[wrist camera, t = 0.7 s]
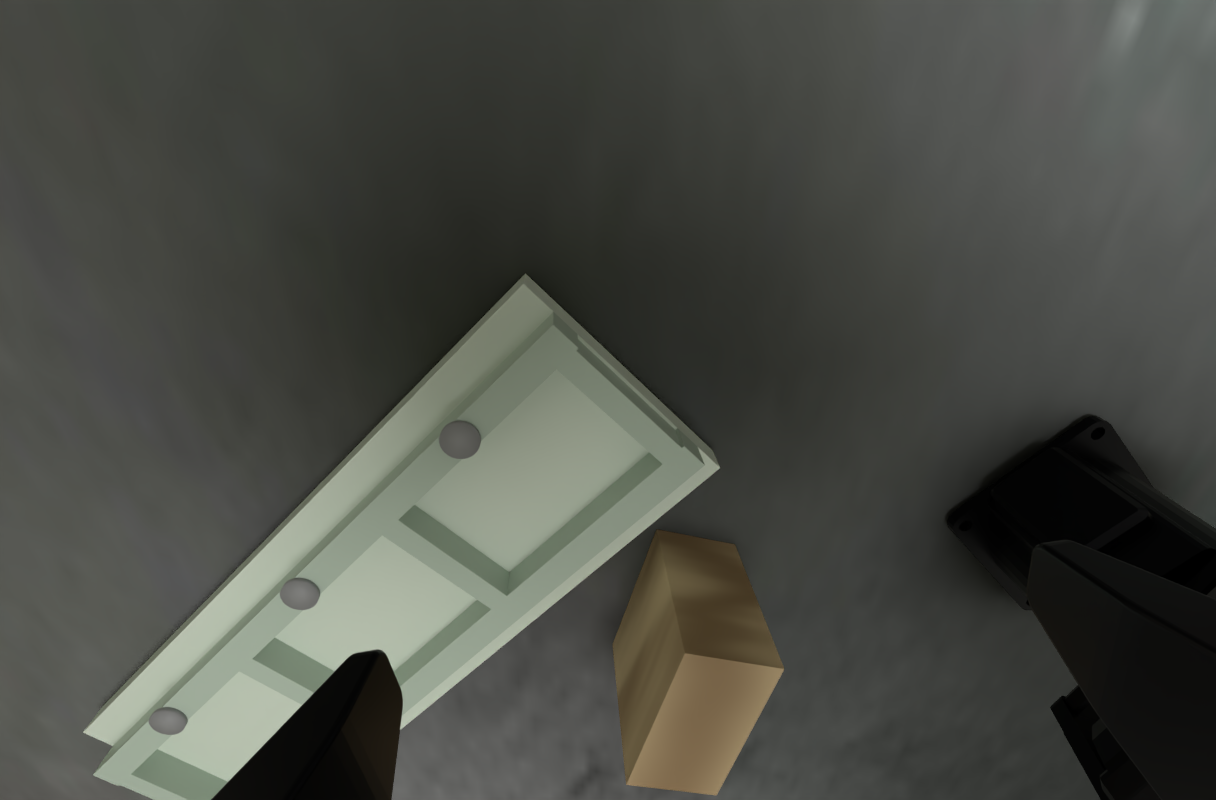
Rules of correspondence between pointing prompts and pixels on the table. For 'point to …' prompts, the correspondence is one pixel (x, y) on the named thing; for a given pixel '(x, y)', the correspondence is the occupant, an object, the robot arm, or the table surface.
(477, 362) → the rail board
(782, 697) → the table surface
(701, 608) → the tan rectangular box
